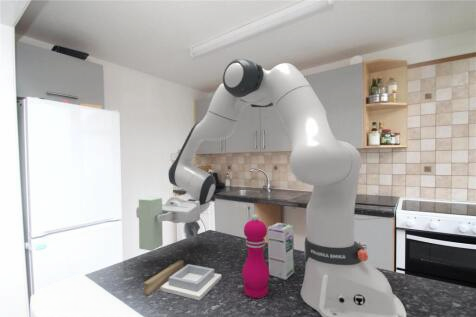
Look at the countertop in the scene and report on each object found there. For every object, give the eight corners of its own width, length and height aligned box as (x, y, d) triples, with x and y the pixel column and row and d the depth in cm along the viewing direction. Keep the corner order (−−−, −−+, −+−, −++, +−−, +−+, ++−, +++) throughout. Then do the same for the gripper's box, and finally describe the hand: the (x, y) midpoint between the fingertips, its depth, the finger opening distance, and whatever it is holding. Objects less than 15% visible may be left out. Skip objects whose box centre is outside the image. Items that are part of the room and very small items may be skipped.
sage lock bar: (162, 245, 71) (162, 197, 71) (151, 250, 67) (151, 200, 67) (150, 243, 73) (150, 197, 73) (139, 248, 69) (138, 199, 69)
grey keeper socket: (221, 278, 70) (221, 267, 70) (199, 300, 59) (199, 288, 59) (186, 271, 75) (186, 261, 75) (160, 290, 64) (160, 279, 64)
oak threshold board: (183, 270, 75) (183, 260, 75) (148, 295, 61) (148, 283, 61) (179, 269, 76) (179, 260, 76) (143, 294, 62) (143, 282, 62)
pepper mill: (268, 300, 59) (267, 218, 59) (239, 297, 60) (238, 217, 60) (270, 285, 66) (270, 211, 66) (244, 283, 67) (243, 211, 67)
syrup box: (286, 280, 68) (285, 229, 68) (268, 274, 72) (267, 225, 72) (294, 272, 73) (294, 224, 73) (277, 267, 77) (276, 221, 77)
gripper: (154, 198, 86) (121, 205, 73) (203, 201, 78) (177, 209, 65) (154, 215, 86) (122, 225, 73) (204, 220, 78) (177, 232, 65)
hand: (148, 218), depth 69 cm, fingers closed on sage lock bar, 4 cm apart
